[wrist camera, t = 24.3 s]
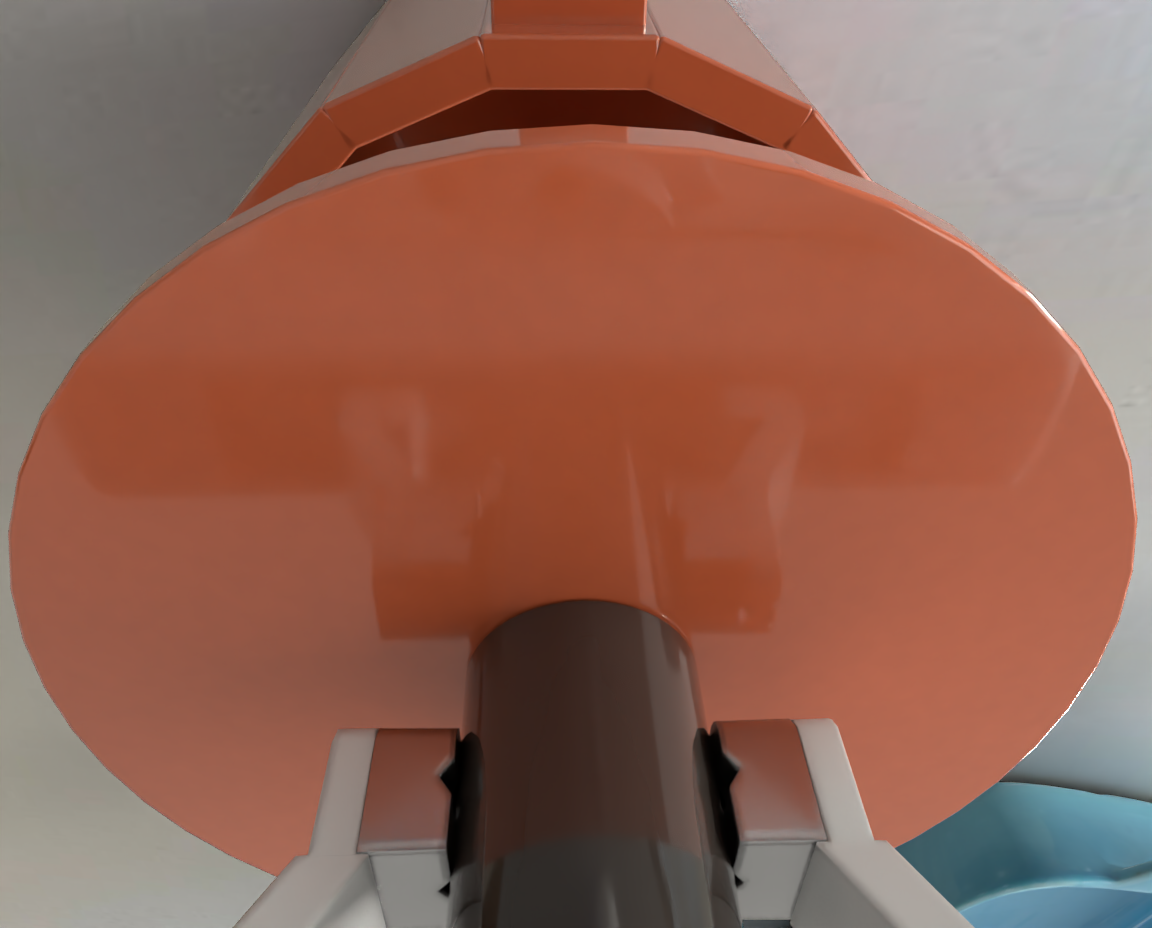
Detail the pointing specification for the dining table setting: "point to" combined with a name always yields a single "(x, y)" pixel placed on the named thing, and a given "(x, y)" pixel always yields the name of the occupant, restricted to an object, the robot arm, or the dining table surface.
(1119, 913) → the casserole dish
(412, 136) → the pot
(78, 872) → the dining table surface
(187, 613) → the pot lid
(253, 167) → the dining table surface
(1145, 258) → the dining table surface
